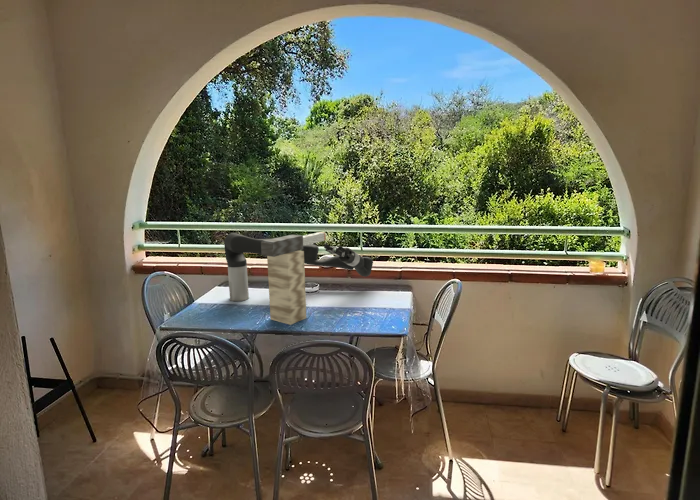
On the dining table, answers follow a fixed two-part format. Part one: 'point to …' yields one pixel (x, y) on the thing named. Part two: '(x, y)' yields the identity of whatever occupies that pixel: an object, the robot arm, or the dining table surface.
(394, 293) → the dining table surface
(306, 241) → the light grey bar
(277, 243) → the stand
